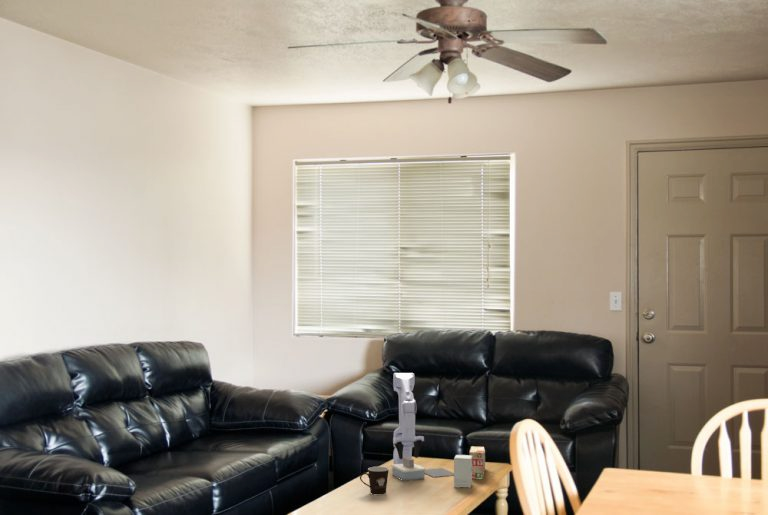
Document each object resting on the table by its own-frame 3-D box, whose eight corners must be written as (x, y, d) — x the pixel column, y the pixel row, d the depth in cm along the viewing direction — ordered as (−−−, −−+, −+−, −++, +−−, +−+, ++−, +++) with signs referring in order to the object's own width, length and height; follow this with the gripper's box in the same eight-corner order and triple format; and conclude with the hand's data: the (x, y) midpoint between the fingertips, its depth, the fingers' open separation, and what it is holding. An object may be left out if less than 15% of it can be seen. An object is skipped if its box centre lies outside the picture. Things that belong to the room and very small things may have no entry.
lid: (391, 467, 404) (391, 456, 404) (412, 465, 408) (412, 455, 408) (403, 473, 392) (403, 462, 392) (425, 471, 397) (425, 460, 397)
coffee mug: (389, 490, 376) (389, 466, 376) (387, 495, 367) (387, 471, 368) (362, 489, 377) (362, 466, 377) (359, 495, 369) (359, 470, 369)
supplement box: (470, 488, 381) (470, 458, 381) (453, 487, 382) (453, 457, 383) (472, 484, 388) (472, 455, 388) (455, 483, 390) (455, 454, 390)
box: (392, 475, 403) (392, 466, 403) (412, 473, 408) (412, 464, 408) (404, 481, 392) (404, 472, 393) (424, 479, 397) (424, 470, 397)
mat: (419, 471, 412) (419, 470, 412) (442, 468, 417) (442, 468, 417) (433, 477, 400) (433, 476, 400) (456, 475, 405) (456, 474, 405)
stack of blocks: (471, 468, 419) (471, 442, 419) (485, 469, 418) (485, 442, 418) (469, 479, 398) (469, 451, 398) (483, 479, 397) (483, 452, 397)
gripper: (397, 430, 394) (397, 461, 393) (427, 428, 400) (426, 458, 399) (391, 427, 400) (390, 458, 400) (420, 425, 406) (419, 455, 406)
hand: (408, 458), depth 400 cm, fingers open, 7 cm apart
